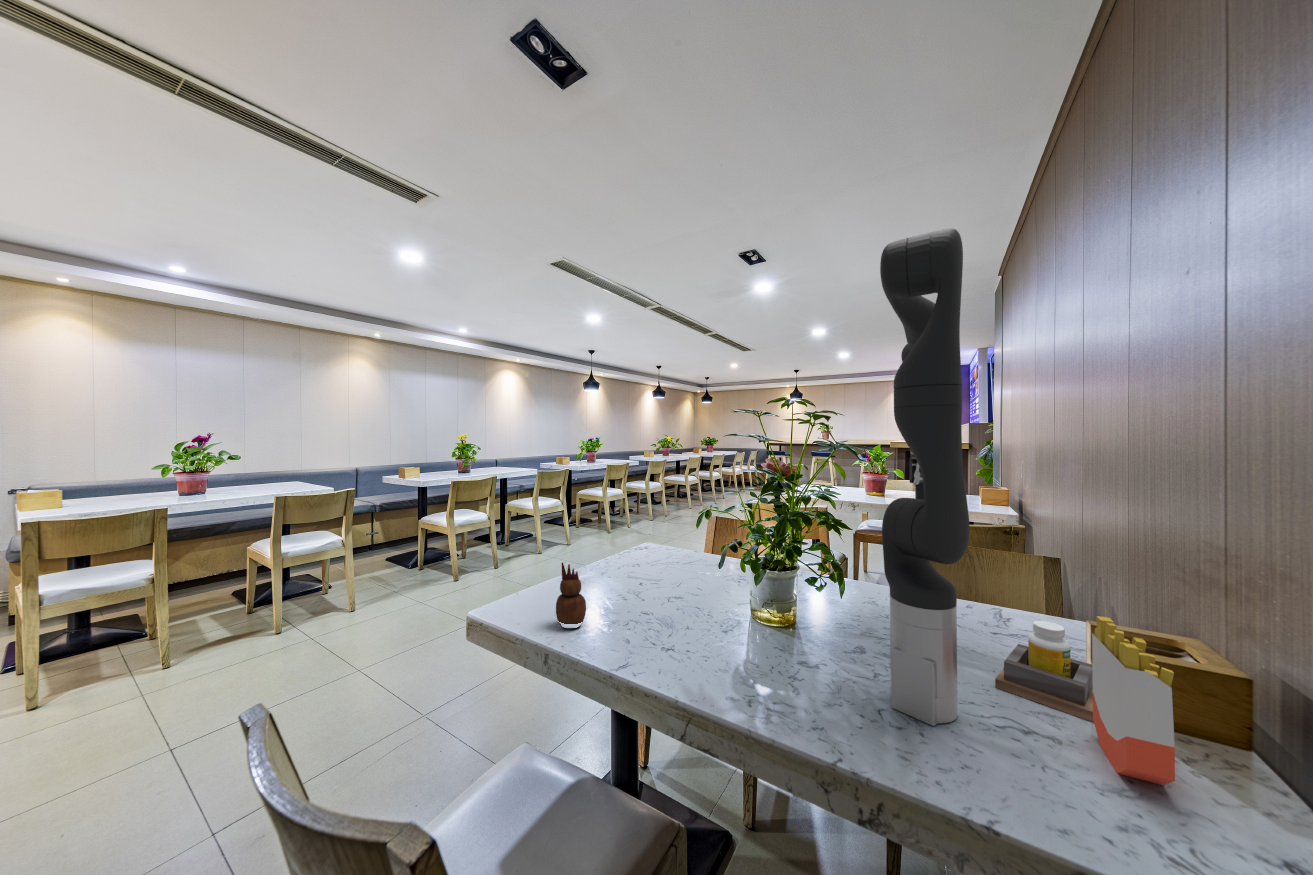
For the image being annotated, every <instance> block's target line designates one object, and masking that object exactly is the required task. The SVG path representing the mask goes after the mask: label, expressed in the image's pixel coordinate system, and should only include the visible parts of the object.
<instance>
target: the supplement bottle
mask: <svg viewBox="0 0 1313 875" xmlns="http://www.w3.org/2000/svg"><path fill="white" fill-rule="evenodd" d="M1032 627H1033V628H1032V629H1033V632H1031V633H1029V635H1028V641H1027V642H1028V645H1027V646H1028V647H1029V666H1031V667H1034V668H1038V669H1041V670H1044V671H1047V672H1051V673H1054V674H1057V675H1060V676H1063V677H1067V678H1070V679H1071V669H1070V668H1071V663H1070V658H1071V654H1072V653H1071V644H1070V642H1068V640H1066V639H1065V636H1066V631H1065V627H1064V626H1062V625H1060V624H1058V623H1055V622H1052V621H1048V620H1035V621H1033V623H1032Z"/></svg>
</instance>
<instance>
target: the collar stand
mask: <svg viewBox="0 0 1313 875" xmlns="http://www.w3.org/2000/svg"><path fill="white" fill-rule="evenodd" d="M1070 663H1071V668H1070V669H1071V679H1070V678H1067V677H1063V676H1060V675H1057V674H1054V673H1051V672H1047V671H1044V670H1041V669H1038V668H1034V667H1031V666H1029V645H1025V644H1021V643H1018V644H1017V645H1016V646H1015V647H1014V649H1013V650H1011V652H1010V654H1008V656H1007V657H1006V659H1004V661H1003V668H1002V669H1001V671H999V673H998V675H997V676H996V677H995V679H994V681H995V682H994V683H995V684H994V686H995V688H996V689H999V690H1001V691H1004V692H1007V693H1009V694H1012V693H1013V695H1015V694H1016V695H1015V696H1018V695H1019V696H1018V697H1021V696H1022V698H1024V699H1027V698H1028V699H1027V700H1029V699H1030V701H1032V700H1033V701H1032V702H1036V703H1037V704H1038V703H1039V704H1041V705H1043V706H1048V707H1050V708H1052V709H1055V710H1058V711H1061V712H1064V713H1066V714H1069V715H1071V716H1075V717H1078V718H1080V719H1083V720H1085V721H1089V722H1091V723H1094V720H1093V670H1092V663H1087V662H1084V661H1080V660H1078V659H1077V660H1076V659H1073V658H1071V657H1070Z"/></svg>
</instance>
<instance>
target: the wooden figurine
mask: <svg viewBox="0 0 1313 875" xmlns="http://www.w3.org/2000/svg"><path fill="white" fill-rule="evenodd" d="M581 591H582V582H581V580H580V578H579V573H578V571H576V572H575V568H574V567H573V568H572V569H571V564H570V563H569V564H568V566H567V569H566V568H565V563H564V562H561V580H560V584H559V592H560V593H561V594H559V595H558V597H557V599H556V603H555V615H556V618H557V622H558V621H559V622H561V623H564V624H578V623H581V622H584V620H585V617H586V613H587V604H586V599H585V597H584V596H583V595H582V594H581V593H580V592H581ZM559 622H558V623H559Z"/></svg>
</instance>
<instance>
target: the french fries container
mask: <svg viewBox="0 0 1313 875" xmlns="http://www.w3.org/2000/svg"><path fill="white" fill-rule="evenodd" d="M1117 628H1118V626H1117V625H1116V624H1115V622H1114V621H1113V620H1112V618H1110V617H1107V616H1098V615H1096V628H1094V633H1093V632H1092V634H1091V636H1092V637H1091V641H1092V642H1091V643H1092V644H1091V647H1092V649H1091V650H1092V652H1091V654H1092V655H1091V656H1092V659H1091V661H1092V663H1091V664H1092V670H1093V720H1094V721H1093V723H1094V728H1095V732H1096V735H1097V738H1098V743H1099V746H1100V749H1101V750H1102V751H1103V753H1104V755H1105V756H1106V758H1107V760H1108V761H1109V763H1110V764H1111V766H1112V767H1113V769H1114V770H1115V772H1116V774H1119V775H1121V776H1126V777H1130V778H1133V779H1137V780H1142V781H1144V780H1145V782H1148V781H1149V783H1152V782H1154V783H1153V784H1156V783H1158V784H1157V785H1160V784H1162V785H1161V786H1165V785H1168V784H1170V783H1173V782H1175V781H1176V761H1175V760H1176V758H1175V757H1176V754H1175V753H1176V752H1175V751H1176V750H1175V748H1176V747H1175V730H1174V729H1175V727H1174V726H1175V725H1174V711H1173V710H1174V709H1173V705H1174V704H1173V691H1172V690H1173V688H1172V684H1173V683H1172V682H1173V679H1174V675H1175V673H1174V670H1171V669H1167V668H1165V667H1162V666H1161V668H1160V665H1158V664H1156V657H1155V655H1152V654H1150V653H1149V654H1148V653H1146V648H1147V642H1146V641H1145V640H1144V638H1139V637H1136V636H1133V637H1132V641H1130V640H1129V639H1128V638H1125V633H1124V631H1122V630H1118V629H1117Z"/></svg>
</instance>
